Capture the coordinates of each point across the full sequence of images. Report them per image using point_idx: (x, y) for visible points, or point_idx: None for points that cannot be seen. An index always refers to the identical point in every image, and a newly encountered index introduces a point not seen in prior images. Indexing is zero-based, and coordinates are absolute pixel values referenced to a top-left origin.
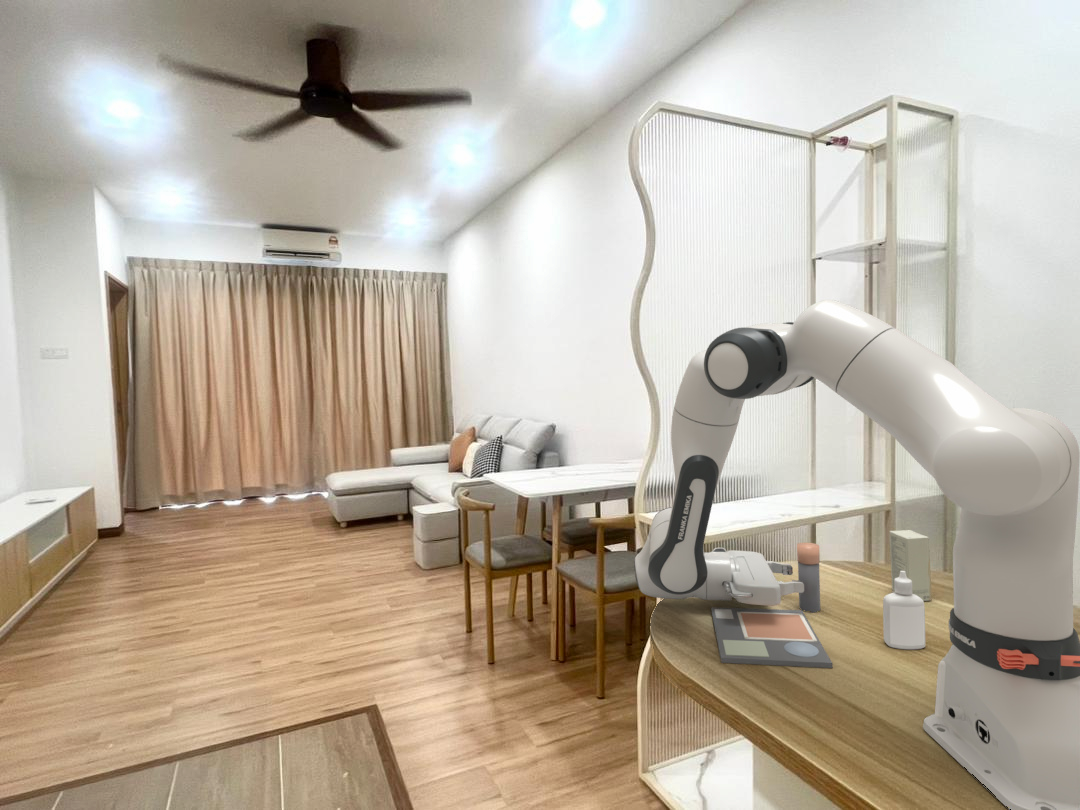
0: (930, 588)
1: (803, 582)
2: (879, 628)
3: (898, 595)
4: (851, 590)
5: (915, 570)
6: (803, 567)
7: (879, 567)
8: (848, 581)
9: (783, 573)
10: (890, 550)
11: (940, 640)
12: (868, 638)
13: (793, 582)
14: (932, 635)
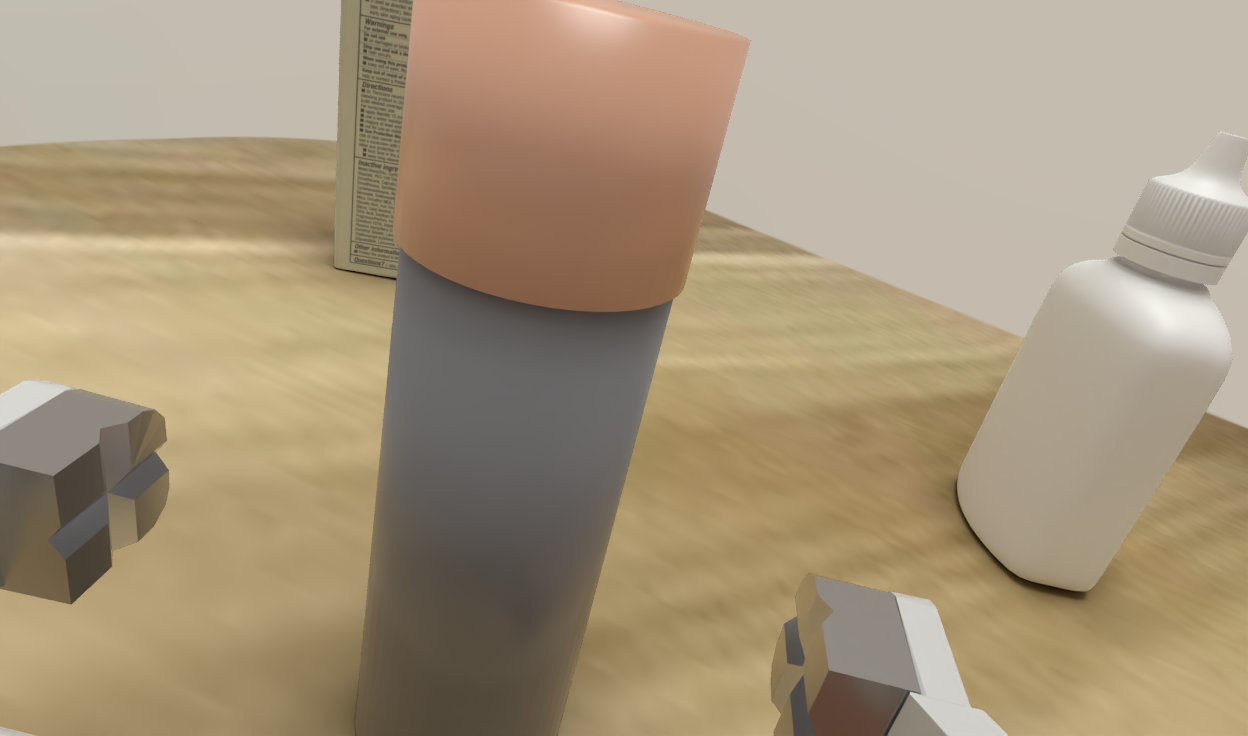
0: None
1: (575, 545)
2: (823, 514)
3: (1207, 297)
4: (230, 351)
5: None
6: (623, 362)
7: (18, 164)
8: (82, 297)
9: (72, 583)
10: (347, 44)
11: (900, 415)
12: (997, 626)
13: (963, 699)
14: (855, 409)
